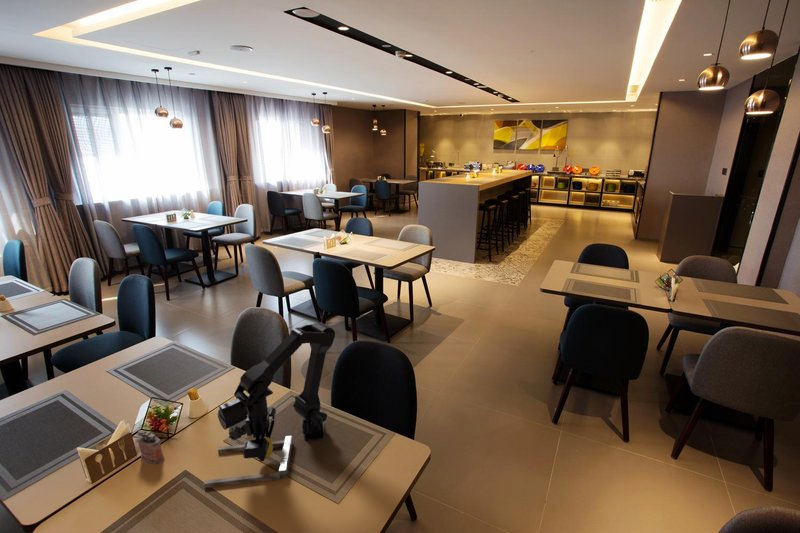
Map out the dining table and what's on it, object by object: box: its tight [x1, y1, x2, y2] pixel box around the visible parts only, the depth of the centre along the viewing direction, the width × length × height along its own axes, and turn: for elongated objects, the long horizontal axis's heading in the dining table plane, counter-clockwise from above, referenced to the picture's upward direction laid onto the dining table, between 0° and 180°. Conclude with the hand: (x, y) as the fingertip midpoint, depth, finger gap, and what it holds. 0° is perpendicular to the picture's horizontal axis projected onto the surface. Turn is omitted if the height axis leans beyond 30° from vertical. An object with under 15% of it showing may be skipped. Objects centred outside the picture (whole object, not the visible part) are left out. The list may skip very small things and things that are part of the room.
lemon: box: [256, 437, 274, 461], centre depth 120 cm, size 6×6×8 cm
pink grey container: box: [136, 429, 165, 465], centre depth 122 cm, size 8×3×10 cm, turn 71°
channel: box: [203, 435, 293, 489], centre depth 120 cm, size 23×14×3 cm, turn 98°
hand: (264, 453), depth 120 cm, fingers closed on lemon, 5 cm apart
